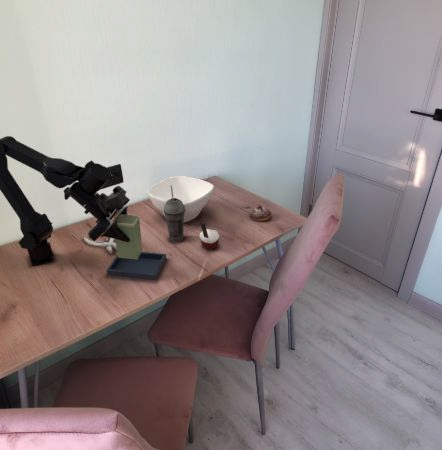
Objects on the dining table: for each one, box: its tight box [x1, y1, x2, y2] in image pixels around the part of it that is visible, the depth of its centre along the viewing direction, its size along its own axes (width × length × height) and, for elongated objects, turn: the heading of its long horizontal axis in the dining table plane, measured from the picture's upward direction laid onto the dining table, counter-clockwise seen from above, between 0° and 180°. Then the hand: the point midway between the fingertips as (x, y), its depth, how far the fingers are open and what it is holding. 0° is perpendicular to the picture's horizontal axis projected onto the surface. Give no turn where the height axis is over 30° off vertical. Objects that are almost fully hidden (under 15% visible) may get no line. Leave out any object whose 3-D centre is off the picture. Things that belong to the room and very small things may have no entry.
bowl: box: [146, 175, 215, 223], centre depth 153 cm, size 22×22×12 cm
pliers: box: [83, 236, 117, 254], centre depth 139 cm, size 10×2×15 cm
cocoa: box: [199, 222, 220, 250], centre depth 133 cm, size 10×6×12 cm, turn 135°
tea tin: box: [112, 214, 143, 259], centre depth 118 cm, size 5×6×12 cm
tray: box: [106, 251, 167, 281], centre depth 126 cm, size 11×15×2 cm
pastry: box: [250, 204, 272, 222], centre depth 154 cm, size 8×8×5 cm
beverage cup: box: [163, 185, 185, 243], centre depth 136 cm, size 7×7×20 cm
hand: (132, 236), depth 117 cm, fingers closed on tea tin, 5 cm apart
